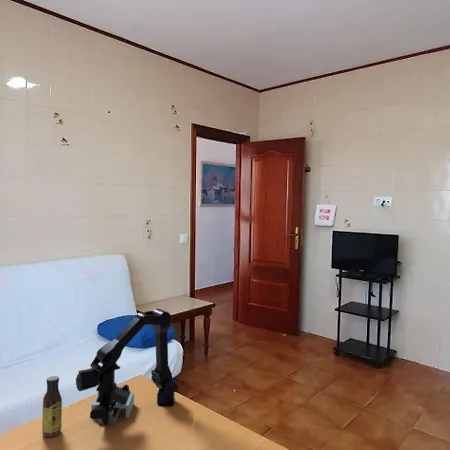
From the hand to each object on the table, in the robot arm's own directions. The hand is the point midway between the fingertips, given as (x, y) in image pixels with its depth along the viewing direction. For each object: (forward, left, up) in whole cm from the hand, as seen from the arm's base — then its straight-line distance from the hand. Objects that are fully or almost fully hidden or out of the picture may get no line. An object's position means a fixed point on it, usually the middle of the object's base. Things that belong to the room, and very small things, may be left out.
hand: (105, 424), depth 142 cm
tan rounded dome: (0, -5, -1) cm, 5 cm away
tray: (0, -5, -1) cm, 5 cm away
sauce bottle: (+18, +4, -1) cm, 18 cm away
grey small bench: (0, -10, -1) cm, 10 cm away
